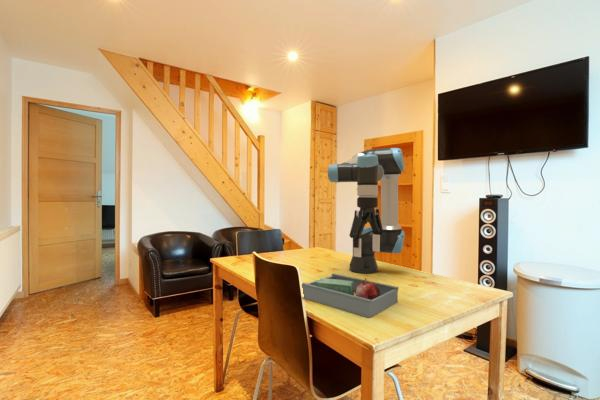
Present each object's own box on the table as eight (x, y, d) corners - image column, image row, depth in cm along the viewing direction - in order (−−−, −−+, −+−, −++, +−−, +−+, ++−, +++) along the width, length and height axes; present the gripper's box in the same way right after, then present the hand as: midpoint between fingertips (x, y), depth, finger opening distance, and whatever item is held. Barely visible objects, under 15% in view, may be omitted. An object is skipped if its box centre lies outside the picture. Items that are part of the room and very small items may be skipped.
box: (351, 305, 116) (351, 284, 116) (316, 301, 120) (316, 282, 120) (354, 299, 123) (354, 280, 123) (320, 295, 127) (320, 277, 127)
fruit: (382, 302, 118) (382, 276, 118) (376, 311, 110) (376, 282, 109) (358, 299, 122) (359, 273, 122) (351, 306, 114) (351, 279, 114)
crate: (333, 286, 139) (333, 273, 139) (398, 302, 119) (398, 287, 119) (301, 297, 123) (301, 283, 123) (369, 318, 103) (369, 301, 103)
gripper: (374, 196, 127) (374, 248, 128) (339, 196, 109) (339, 257, 109) (392, 196, 122) (391, 250, 123) (358, 197, 104) (357, 260, 104)
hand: (367, 254), depth 116 cm, fingers open, 13 cm apart
